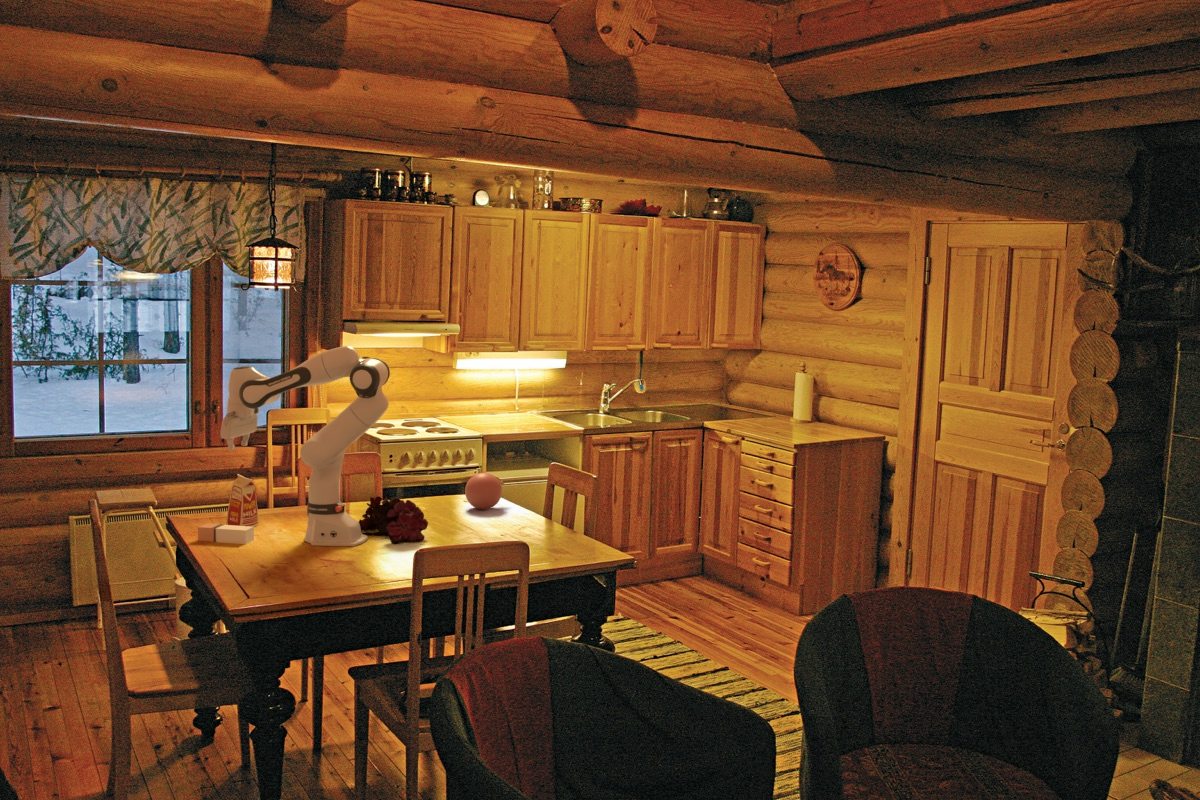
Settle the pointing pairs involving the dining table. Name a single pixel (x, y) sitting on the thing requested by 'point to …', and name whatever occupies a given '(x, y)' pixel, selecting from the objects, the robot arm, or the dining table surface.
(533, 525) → the dining table surface
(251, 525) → the milk carton
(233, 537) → the cream rectangular block
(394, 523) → the flower arrangement
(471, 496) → the balloon
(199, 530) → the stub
